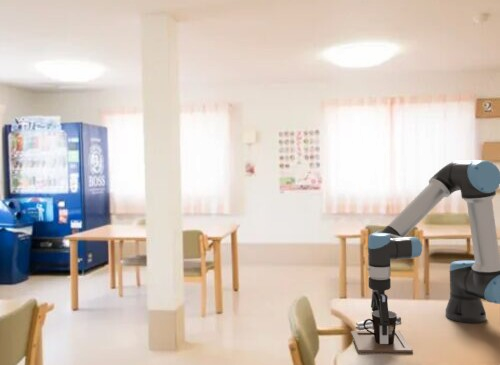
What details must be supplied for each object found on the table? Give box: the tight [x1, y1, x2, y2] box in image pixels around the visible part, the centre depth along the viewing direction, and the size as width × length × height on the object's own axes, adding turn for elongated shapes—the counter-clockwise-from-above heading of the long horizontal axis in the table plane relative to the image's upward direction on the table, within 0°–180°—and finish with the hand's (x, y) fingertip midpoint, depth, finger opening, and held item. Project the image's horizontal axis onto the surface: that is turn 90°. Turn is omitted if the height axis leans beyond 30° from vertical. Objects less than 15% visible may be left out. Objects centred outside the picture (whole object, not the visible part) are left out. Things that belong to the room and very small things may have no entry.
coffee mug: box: [363, 310, 398, 345], centre depth 170 cm, size 12×9×10 cm
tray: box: [350, 330, 414, 355], centre depth 170 cm, size 18×18×1 cm
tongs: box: [355, 316, 402, 330], centre depth 189 cm, size 19×5×2 cm, turn 106°
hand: (380, 336), depth 170 cm, fingers open, 13 cm apart
